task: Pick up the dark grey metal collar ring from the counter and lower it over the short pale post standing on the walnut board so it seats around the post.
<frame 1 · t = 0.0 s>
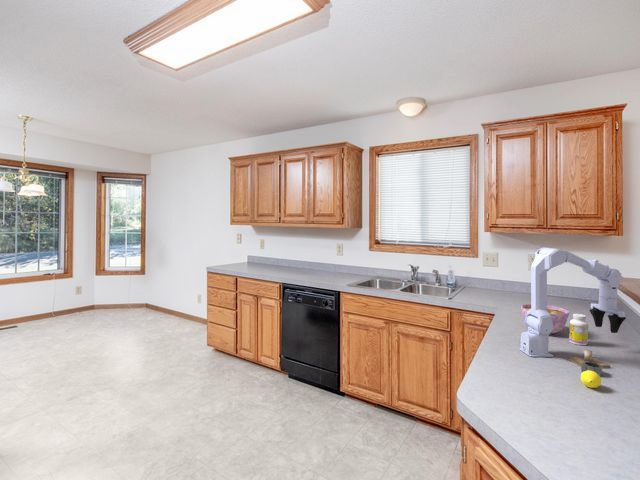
hand: (606, 329, 140), 10 cm above the worktop, fingers open, 7 cm apart
supplement bottle: (578, 343, 153), on the worktop
bowl of food: (543, 332, 168), on the worktop
collar ring: (591, 372, 123), on the worktop
post board: (587, 363, 131), on the worktop
lemon: (590, 387, 112), on the worktop
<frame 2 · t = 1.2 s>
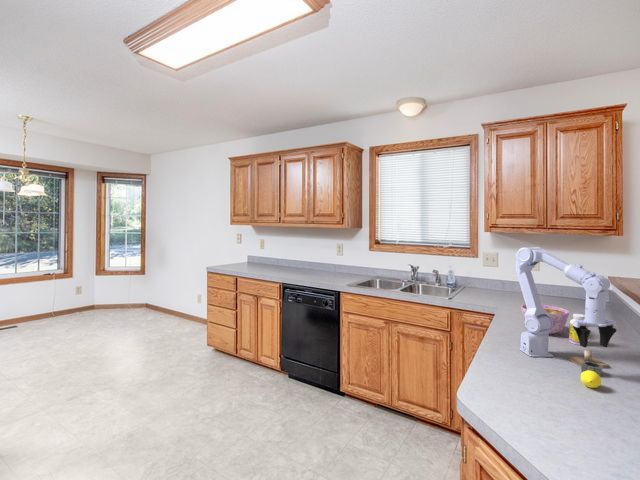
hand: (593, 346, 123), 9 cm above the worktop, fingers open, 7 cm apart
nothing on the worktop moved.
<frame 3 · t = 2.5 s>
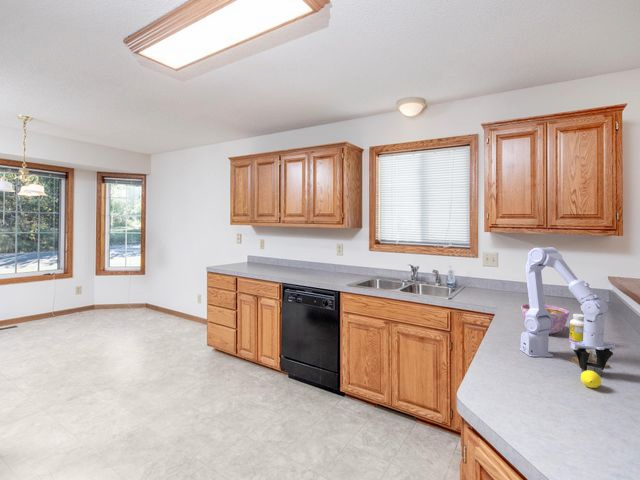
hand: (591, 368, 123), 1 cm above the worktop, fingers closed on collar ring, 6 cm apart
collar ring: (591, 372, 123), on the worktop, touching gripper
everything else where it was.
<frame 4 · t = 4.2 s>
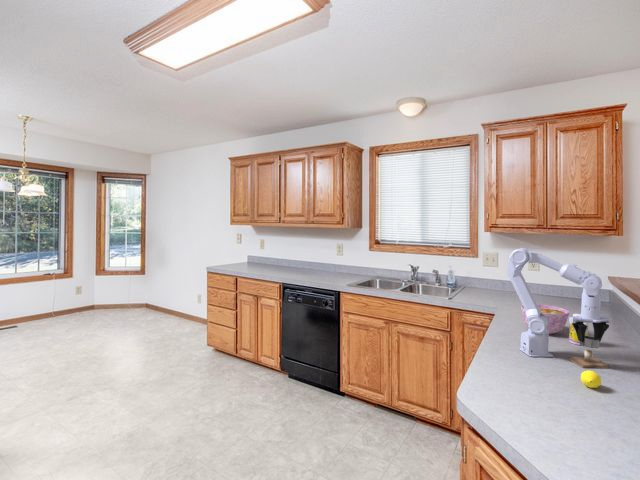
hand: (589, 341, 130), 9 cm above the worktop, fingers closed on collar ring, 6 cm apart
collar ring: (589, 345, 130), point 7 cm above the worktop, touching gripper
everything else where it was.
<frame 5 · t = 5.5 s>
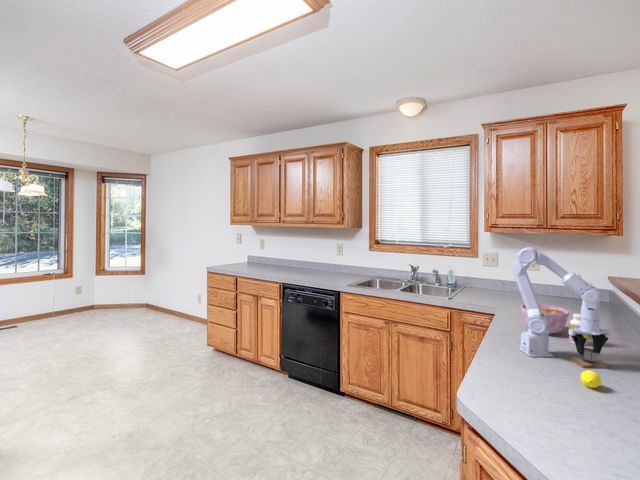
hand: (588, 353, 130), 4 cm above the worktop, fingers closed on collar ring, 6 cm apart
collar ring: (588, 357, 130), point 2 cm above the worktop, touching gripper
everything else where it was.
when the fingers open (4 cm above the worktop, at t = 6.2 s): collar ring drops 1 cm, resting on post board.
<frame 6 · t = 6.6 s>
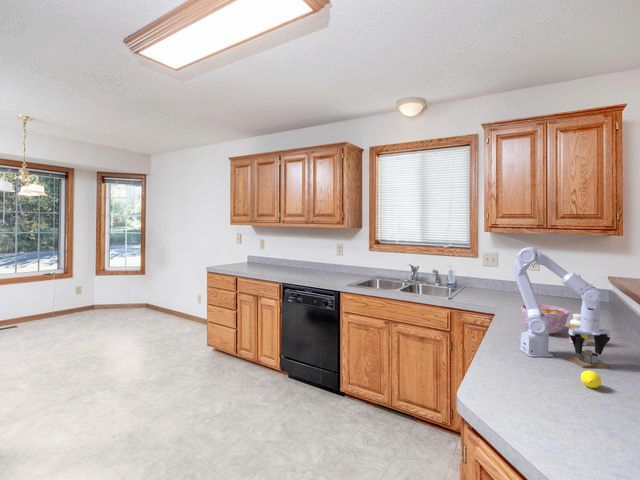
hand: (588, 353, 130), 4 cm above the worktop, fingers open, 7 cm apart
collar ring: (588, 361, 130), point 1 cm above the worktop, touching post board
everything else where it was.
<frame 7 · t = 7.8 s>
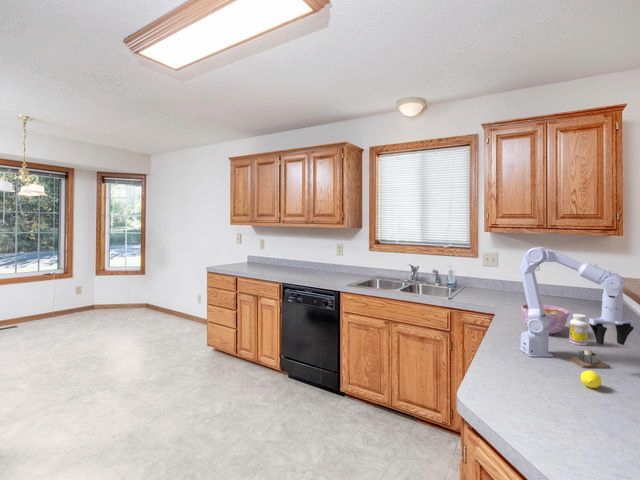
hand: (610, 343, 124), 10 cm above the worktop, fingers open, 7 cm apart
nothing on the worktop moved.
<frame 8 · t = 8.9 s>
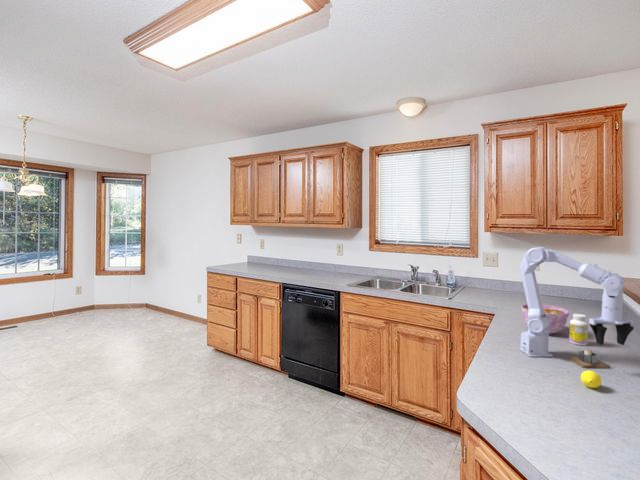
hand: (610, 343, 124), 10 cm above the worktop, fingers open, 7 cm apart
nothing on the worktop moved.
at the end: collar ring 0.2 cm off-centre on the post board, point 1.0 cm above the post board's base; the gripper is holding nothing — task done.
